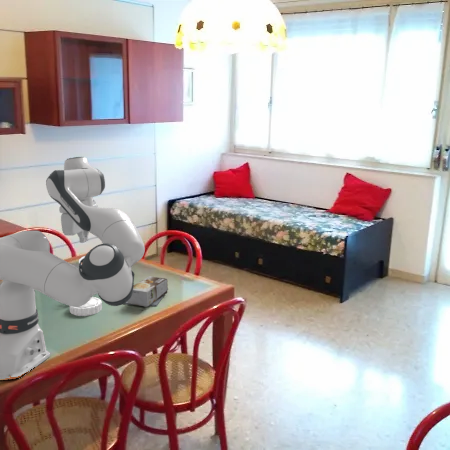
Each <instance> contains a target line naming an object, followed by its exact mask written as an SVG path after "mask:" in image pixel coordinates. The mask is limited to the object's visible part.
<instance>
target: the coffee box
mask: <svg viewBox="0 0 450 450" xmlns="http://www.w3.org/2000/svg"><path fill="white" fill-rule="evenodd" d="M168 286H169V284H168V278H165V277H158V276H147V277H146V278H144V279H142V280H140V281H139V282H137V283H134V287H133V293H132V296H131V298H130V299H129V300H128V303H129V304H134V305H133V306H141V307H146V308H147V307H150V306H149V305H150V304H152V303H153V302H155V301H156V300H158V299H159V298H161V297H162V296H163V297H165V295H166V294H168V290H167V288H168ZM168 289H169V288H168ZM129 304H128V305H129Z"/></svg>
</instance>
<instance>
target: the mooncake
mask: <svg viewBox="0 0 450 450" xmlns="http://www.w3.org/2000/svg"><path fill="white" fill-rule="evenodd" d="M102 303H103V301H102V300H101V298H100V297H99V298H98V297H95V296H92V297H91V299H90V300H89V301H88V302H87V303H86V304H84V305H82V306H80V307H73V306H69V305H68V306H69V313H71V315H74V316H78V317H81V316H82V317H86V316H91V315H95V314H98V313H99V312H101V311H102V309H103V304H102Z"/></svg>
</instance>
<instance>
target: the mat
mask: <svg viewBox="0 0 450 450" xmlns="http://www.w3.org/2000/svg"><path fill="white" fill-rule="evenodd" d="M168 290H169V288H167V291H168ZM163 298H164V296H162V297H161V298H159V299H158V300H156V301H155V302H153V303H152V304H150V305H149V306H148V307H158V305H160V303H161V301H162V299H163ZM123 305H133V306H135V305H134V304H129V303H128V301H127V302H126V303H124V304H123Z"/></svg>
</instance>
